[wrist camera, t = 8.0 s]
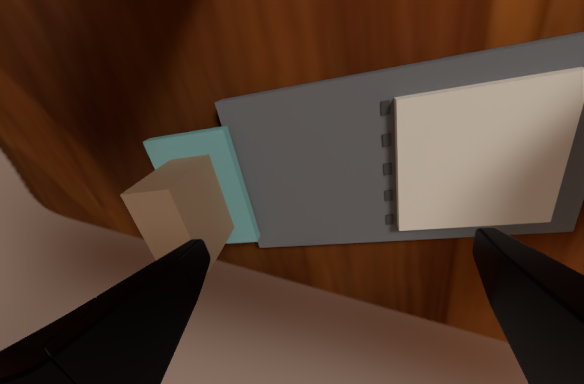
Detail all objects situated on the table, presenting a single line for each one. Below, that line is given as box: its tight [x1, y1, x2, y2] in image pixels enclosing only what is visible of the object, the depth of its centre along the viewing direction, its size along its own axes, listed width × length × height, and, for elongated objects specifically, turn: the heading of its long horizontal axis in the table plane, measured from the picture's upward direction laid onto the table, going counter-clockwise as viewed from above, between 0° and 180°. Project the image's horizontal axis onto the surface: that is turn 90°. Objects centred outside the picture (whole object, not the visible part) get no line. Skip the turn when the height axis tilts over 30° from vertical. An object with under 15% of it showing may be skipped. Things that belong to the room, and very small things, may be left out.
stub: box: [121, 126, 260, 276], centre depth 18 cm, size 6×9×6 cm, turn 11°
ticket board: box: [215, 32, 584, 248], centre depth 18 cm, size 22×12×2 cm, turn 101°
